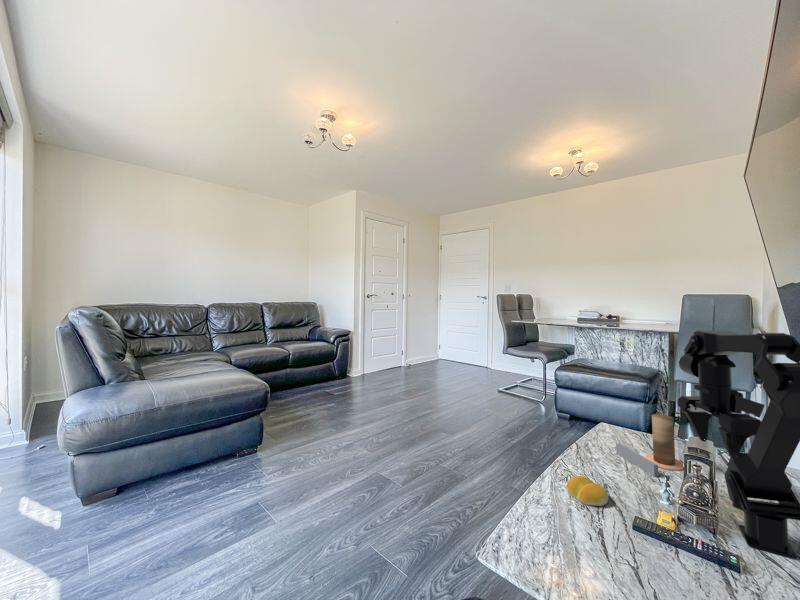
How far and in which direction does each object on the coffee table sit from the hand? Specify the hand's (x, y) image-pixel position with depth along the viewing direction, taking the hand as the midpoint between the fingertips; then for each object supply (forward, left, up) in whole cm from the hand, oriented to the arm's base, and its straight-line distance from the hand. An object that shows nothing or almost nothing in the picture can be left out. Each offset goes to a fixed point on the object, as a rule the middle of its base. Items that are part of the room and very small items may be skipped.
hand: (717, 449), depth 78 cm
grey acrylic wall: (+11, +16, -12) cm, 23 cm away
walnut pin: (+16, +9, -12) cm, 22 cm away
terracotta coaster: (+16, +9, -12) cm, 22 cm away
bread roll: (-14, +27, -12) cm, 32 cm away
